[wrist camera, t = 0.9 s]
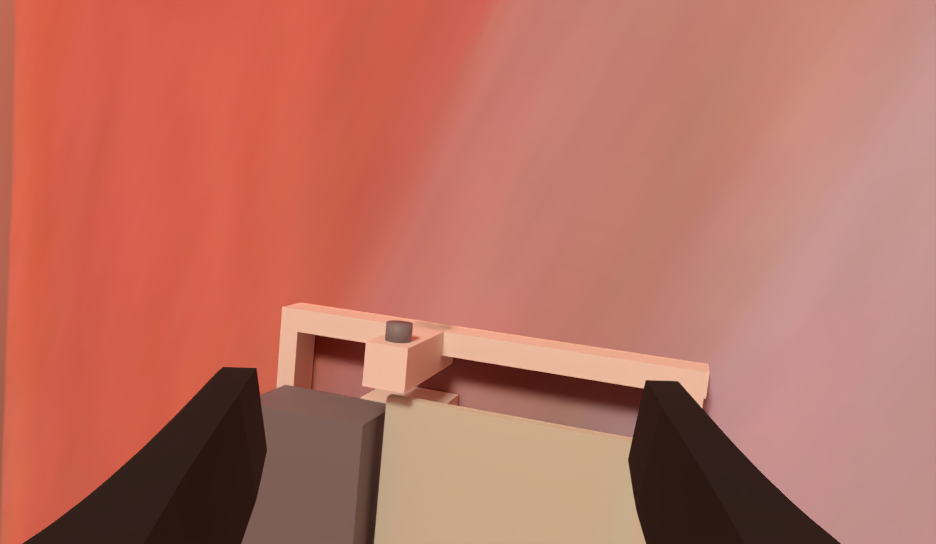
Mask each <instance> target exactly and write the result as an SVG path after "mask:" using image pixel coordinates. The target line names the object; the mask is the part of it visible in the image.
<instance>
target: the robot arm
mask: <svg viewBox="0 0 936 544" xmlns="http://www.w3.org/2000/svg"><path fill="white" fill-rule="evenodd" d="M266 453H267V445H266V437H265V430H264V422H263V415H262V407H261V400H260V392H259V385H258V377H257V370H256V368H232V367H223V368H221V369H220V370H219V371H218V372H217V373H216V374H215V375H214V376H213V377H212V378H211V379H210V380H209V381H208V382H207V383H206V384H205V385H204V387H203V388H202V389H201V390H200V391H199V392H198V393H197V394H196V395H195V396H194V397H193V398H192V399H191V400H190V401H189V402H188V403H187V404H186V405H185V406H184V407H183V409H182V410H181V411H180V412H179V413H178V414H177V415H176V416H175V417H174V418H173V419H172V420H171V421H170V422H169V423H168V424H167V425H166V426H165V427H164V428H163V429H162V430H161V431H160V432H159V433H158V434H156V435H155V436H154V437H153V438H152V439H151V440H150V441H149V442H148V443H147V444H146V445H145V446H144V447H143V448H142V449H141V450H140V451H139V452H138V453H137V454H136V455H134V456H133V457H132V458H131V459H130V460H129V461H128V462H127V463H126V464H124V465H123V466H122V467H121V468H120V469H119V470H118V471H117V472H115V473H114V474H113V475H112V476H111V477H110V478H109V479H108V480H106V481H105V482H104V483H103V484H102V485H101V486H99V487H98V488H97V489H96V490H95V491H93V492H92V493H91V494H90V495H89V496H87V497H86V498H85V499H84V500H82V501H81V502H80V503H79V504H77V505H76V506H75V507H73V508H72V509H71V510H69V511H68V512H67V513H66V514H64V515H63V516H62V517H60V518H59V519H58V520H56V521H55V522H54V523H52V524H51V525H49V526H48V527H47V528H45V529H44V530H42V531H41V532H39V533H38V534H36V535H35V536H33V537H32V538H30V539H29V540H27V541H26V542H24V543H23V544H241V543H242V540H243V537H244V534H245V531H246V529H247V526H248V523H249V520H250V517H251V514H252V511H253V508H254V505H255V502H256V499H257V495H258V490H259V486H260V482H261V477H262V472H263V468H264V463H265V458H266ZM628 463H629V470H630V476H631V483H632V489H633V495H634V500H635V506H636V511H637V515H638V518H639V522H640V525H641V528H642V532H643V535H644V539H645V542H646V544H841V543H839V542H838V541H837V540H836V539H834V538H833V537H832V536H831V535H830V534H828V533H827V532H826V531H825V530H824V529H822V528H821V527H820V526H819V525H818V524H816V523H815V522H814V521H813V520H812V519H810V518H809V517H808V516H807V515H806V514H805V513H804V512H802V511H801V510H800V509H799V508H798V507H797V506H796V505H795V504H793V503H792V502H791V501H790V500H789V499H788V498H787V497H786V496H785V495H784V494H783V493H782V492H781V491H780V490H779V489H778V488H777V487H776V486H775V485H773V484H772V483H771V482H770V481H769V480H768V479H767V478H766V477H765V476H764V475H763V474H762V473H761V472H760V471H759V470H758V469H757V468H756V467H755V466H754V465H753V464H752V463H751V462H750V461H749V459H748V458H747V457H746V456H745V455H744V454H743V453H742V452H741V451H740V450H739V449H738V448H737V447H736V446H735V445H734V444H733V442H732V441H731V440H730V439H729V438H728V437H727V436H726V435H725V434H724V433H723V431H722V430H721V429H720V428H719V427H718V426H717V425H716V424H715V422H714V421H713V420H712V419H711V418H710V417H709V416H708V415H707V413H706V412H705V411H704V410H703V409H702V408H701V407H700V405H699V404H698V403H697V402H696V401H695V400H694V399H693V397H692V396H691V395H690V394H689V393H688V392H687V391H686V389H685V388H684V387H683V386H682V385H681V384H680V383H679V382H678V381H656V380H646V381H645V386H644V390H643V394H642V399H641V403H640V408H639V412H638V417H637V421H636V426H635V430H634V435H633V439H632V444H631V448H630V452H629V457H628Z"/></svg>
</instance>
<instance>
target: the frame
mask: <svg viewBox="0 0 936 544" xmlns="http://www.w3.org/2000/svg"><path fill="white" fill-rule="evenodd" d="M315 335H320V336H326V337H332V338H338V339H345V340H351V341H357V342H363V343H366V347H365V359H364V371H363V383H362V386H365V387H371V388H376V389H375V390H373V391H371V392H370V393H368V394H366V395H364V396H362V397H361V399H365V400H370V401H375V402H381V403H386V399H387V396H389V395H391V394H396V395H402V396H407V397H413V398H418V399H423V400H429V401H434V402H440V403H445V404H451V405H456V406H458V397H459V394H453V393H447V392H442V391H436V390H431V389H425V388H419V387H415V386H417V385H419V384H420V383H422V382H423V381H425V380H427V379H428V378H430V377H431V376H433V375H435V374H436V373H438V372H439V371H441V370H443V369H444V368H446V367H447V366H449V365H451V364H452V363H453V357H454V358H461V359H467V360H473V361H479V362H485V363H491V364H497V365H503V366H509V367H515V368H522V369H528V370H534V371H540V372H546V373H552V374H558V375H564V376H570V377H576V378H583V379H589V380H595V381H601V382H607V383H613V384H619V385H625V386H631V387H638V388H644V386H645V381H646V380H656V381H678V382H679V383H680V384H681V385H682V386H683V387H684V388H685V389H686V391H687V392H688V393H689V394H690V395H691V396H692V397H693V399H694V400H695V401H696V402H697V403H698V404H699V405H700V407H701V408H702V407H703V400H704V398H705V399H706V395H707V388H708V380H709V365H708V364H705V363H699V362H692V361H685V360H679V359H672V358H666V357H659V356H652V355H646V354H639V353H632V352H626V351H619V350H613V349H606V348H599V347H593V346H586V345H579V344H573V343H566V342H559V341H553V340H546V339H540V338H533V337H526V336H520V335H513V334H506V333H500V332H493V331H487V330H480V329H473V328H467V327H460V326H453V325H447V324H440V323H434V322H427V321H420V320H414V319H407V318H400V317H394V316H387V315H380V314H374V313H367V312H361V311H354V310H347V309H341V308H334V307H327V306H321V305H314V304H308V303H297V304H293V305H288V306H284V307H282V319H281V333H280V347H279V362H278V376H277V388H279V387H281V386H283V385H290V386H295V387H301V388H306V389H311V386H312V372H313V359H314V346H315Z"/></svg>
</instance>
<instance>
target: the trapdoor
mask: <svg viewBox="0 0 936 544" xmlns="http://www.w3.org/2000/svg"><path fill="white" fill-rule="evenodd" d="M260 400H261V407H262V415H263V422H264V430H265V437H266V445H267V453H266V458H265V463H264V468H263V472H262V477H261V482H260V486H259V490H258V495H257V499H256V502H255V505H254V508H253V511H252V514H251V517H250V520H249V523H248V526H247V529H246V531H245V534H244V537H243V540H242V543H241V544H646V542H645V539H644V535H643V532H642V528H641V525H640V522H639V518H638V515H637V511H636V506H635V500H634V495H633V489H632V483H631V476H630V470H629V463H628V457H629V452H630V448H631V444H632V439H633V438H631V437H625V436H620V435H614V434H609V433H603V432H598V431H593V430H587V429H582V428H576V427H571V426H565V425H560V424H554V423H549V422H543V421H538V420H533V419H527V418H522V417H516V416H511V415H505V414H500V413H494V412H489V411H483V410H478V409H473V408H467V407H462V406H456V405H451V404H445V403H440V402H434V401H429V400H423V399H418V398H413V397H407V396H402V395H396V394H391V395H389V396H387V399H386V403H381V402H375V401H370V400H365V399H359V398H354V397H349V396H343V395H338V394H333V393H327V392H322V391H317V390H311V389H306V388H301V387H295V386H290V385H283V386H281V387H279V388H276V389H274V390H271V391H269V392H267V393H264V394H262V395H260Z"/></svg>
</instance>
